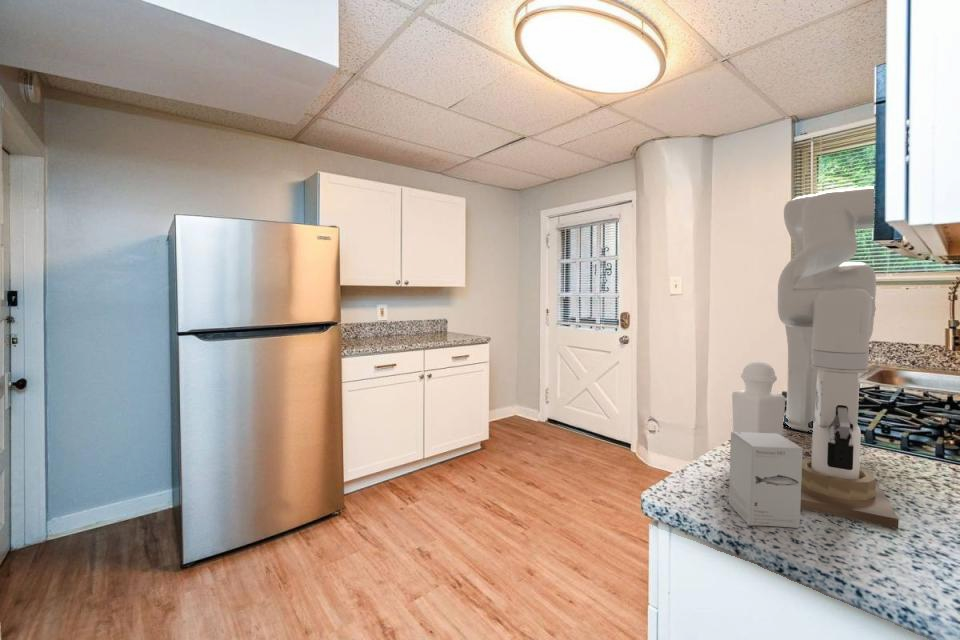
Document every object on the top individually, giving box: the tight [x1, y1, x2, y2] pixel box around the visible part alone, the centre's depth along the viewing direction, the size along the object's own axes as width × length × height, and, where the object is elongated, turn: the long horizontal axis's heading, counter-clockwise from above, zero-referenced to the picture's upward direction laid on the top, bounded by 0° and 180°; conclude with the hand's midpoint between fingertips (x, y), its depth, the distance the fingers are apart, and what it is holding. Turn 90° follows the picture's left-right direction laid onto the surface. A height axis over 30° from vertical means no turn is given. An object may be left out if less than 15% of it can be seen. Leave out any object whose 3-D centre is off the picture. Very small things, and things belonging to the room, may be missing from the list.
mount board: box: [800, 457, 900, 530], centre depth 75 cm, size 18×13×4 cm
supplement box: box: [728, 431, 804, 529], centre depth 68 cm, size 7×7×13 cm
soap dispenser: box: [731, 360, 786, 436], centre depth 86 cm, size 6×6×22 cm
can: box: [811, 420, 862, 479], centre depth 75 cm, size 6×6×12 cm
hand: (835, 458), depth 75 cm, fingers open, 9 cm apart
